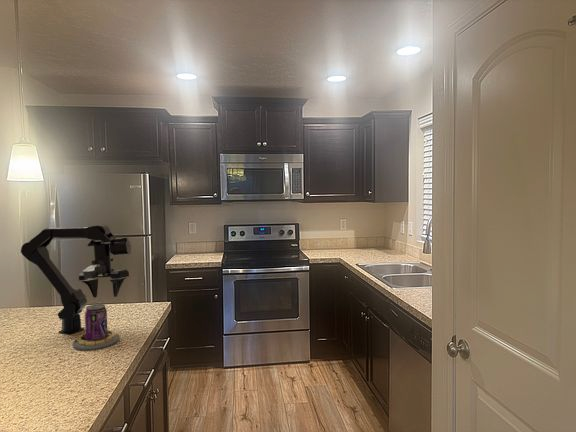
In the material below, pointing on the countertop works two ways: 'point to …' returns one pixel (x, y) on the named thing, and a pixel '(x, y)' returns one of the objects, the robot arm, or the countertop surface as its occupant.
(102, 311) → the beverage can
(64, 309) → the robot arm
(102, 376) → the countertop surface
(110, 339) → the carrier plate
